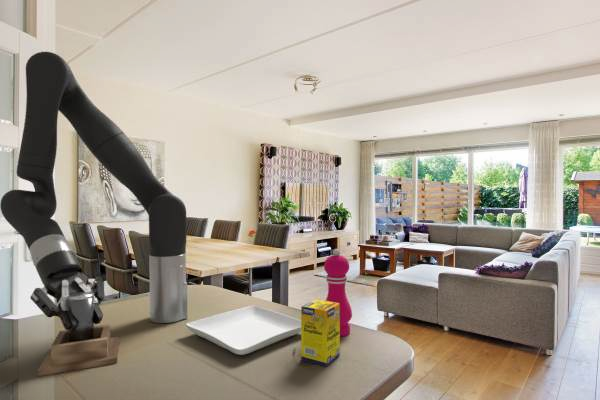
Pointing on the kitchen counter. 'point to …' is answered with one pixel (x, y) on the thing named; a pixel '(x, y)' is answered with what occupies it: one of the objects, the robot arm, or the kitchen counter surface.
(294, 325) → the salad plate
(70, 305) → the dark grey piece
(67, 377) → the kitchen counter surface
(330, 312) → the supplement box
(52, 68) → the robot arm
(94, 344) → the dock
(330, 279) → the pepper mill
